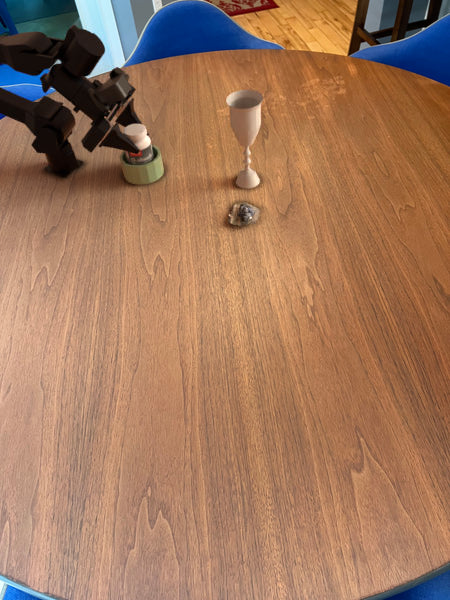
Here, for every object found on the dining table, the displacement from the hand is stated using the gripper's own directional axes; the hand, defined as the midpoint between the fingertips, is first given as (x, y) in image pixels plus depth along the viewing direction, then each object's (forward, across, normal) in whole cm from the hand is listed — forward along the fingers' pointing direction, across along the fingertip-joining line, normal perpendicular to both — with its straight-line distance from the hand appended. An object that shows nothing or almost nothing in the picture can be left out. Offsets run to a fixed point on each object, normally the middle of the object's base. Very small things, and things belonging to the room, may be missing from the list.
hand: (143, 144), depth 100 cm
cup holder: (+4, 0, +6) cm, 7 cm away
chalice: (+21, -1, -11) cm, 23 cm away
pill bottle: (+4, 0, +6) cm, 7 cm away
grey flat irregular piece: (+21, -12, -11) cm, 27 cm away
